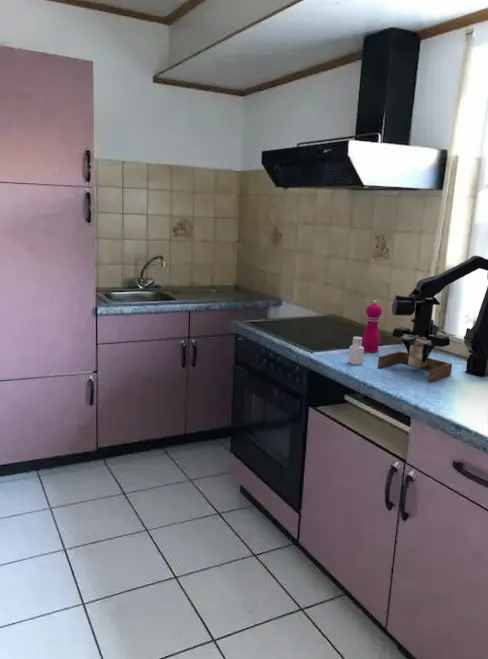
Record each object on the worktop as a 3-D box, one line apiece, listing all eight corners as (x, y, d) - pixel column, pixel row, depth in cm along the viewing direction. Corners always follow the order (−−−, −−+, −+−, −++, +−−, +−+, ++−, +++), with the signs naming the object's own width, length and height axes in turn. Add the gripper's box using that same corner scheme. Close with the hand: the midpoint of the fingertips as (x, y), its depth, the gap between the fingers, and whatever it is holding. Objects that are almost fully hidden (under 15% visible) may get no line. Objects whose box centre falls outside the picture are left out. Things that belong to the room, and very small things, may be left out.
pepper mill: (364, 347, 222) (368, 298, 217) (381, 350, 218) (387, 300, 214) (357, 351, 216) (362, 300, 211) (375, 354, 212) (381, 302, 208)
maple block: (426, 365, 193) (428, 346, 191) (419, 367, 190) (422, 347, 188) (414, 362, 196) (416, 343, 194) (407, 364, 193) (410, 345, 191)
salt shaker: (357, 361, 201) (359, 336, 199) (363, 364, 197) (365, 338, 195) (347, 362, 199) (349, 336, 197) (353, 365, 196) (355, 339, 194)
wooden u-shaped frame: (450, 374, 190) (452, 363, 189) (430, 382, 180) (432, 370, 179) (398, 361, 204) (399, 350, 203) (377, 367, 194) (378, 356, 193)
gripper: (460, 318, 188) (454, 363, 192) (410, 309, 201) (405, 351, 205) (444, 322, 181) (438, 368, 184) (394, 312, 193) (389, 356, 197)
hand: (417, 360), depth 193 cm, fingers closed on maple block, 4 cm apart
